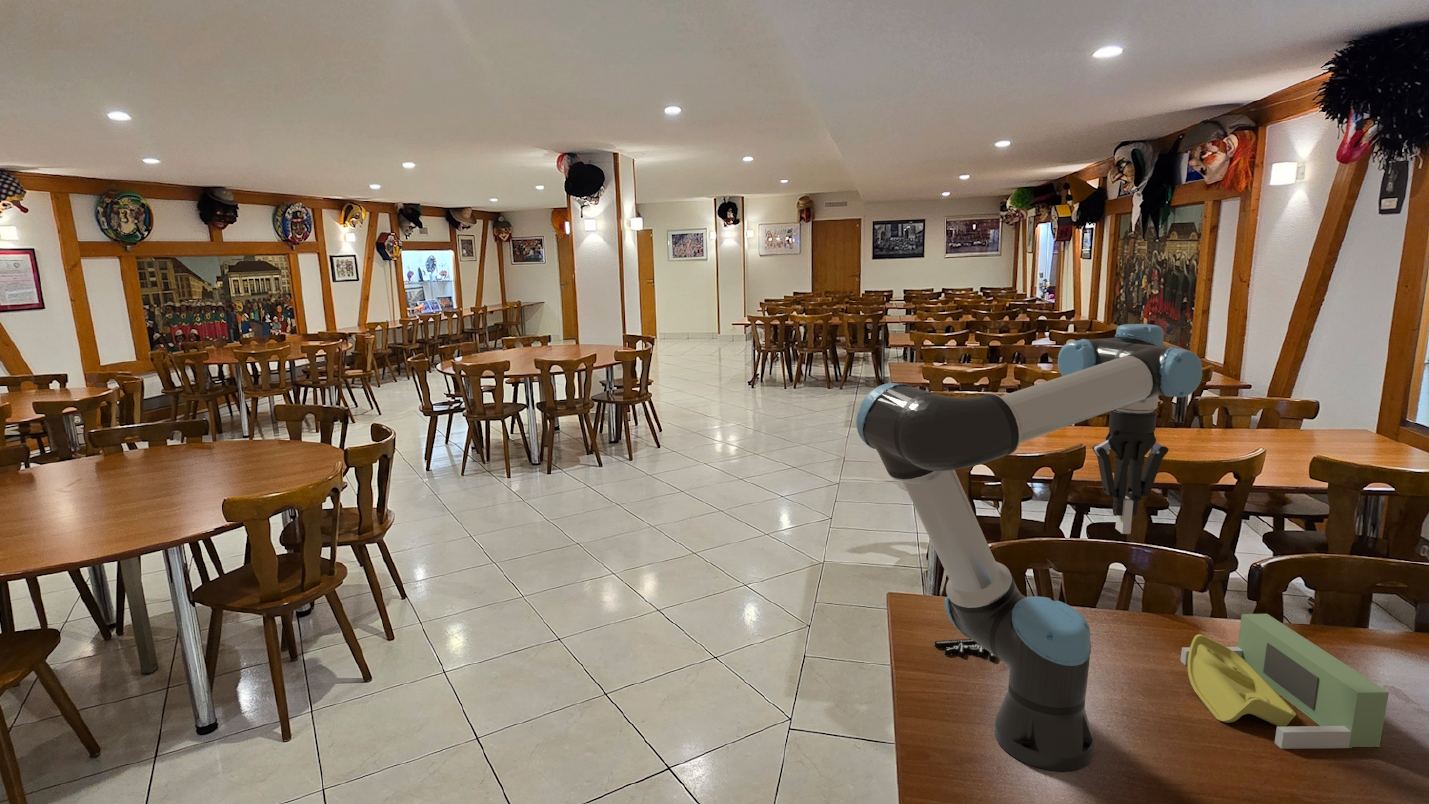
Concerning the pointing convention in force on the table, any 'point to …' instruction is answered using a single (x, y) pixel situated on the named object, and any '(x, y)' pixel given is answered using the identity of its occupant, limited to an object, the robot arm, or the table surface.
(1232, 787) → the table surface
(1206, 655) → the plastic component
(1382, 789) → the table surface
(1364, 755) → the table surface
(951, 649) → the nameplate
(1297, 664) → the green sign stand
